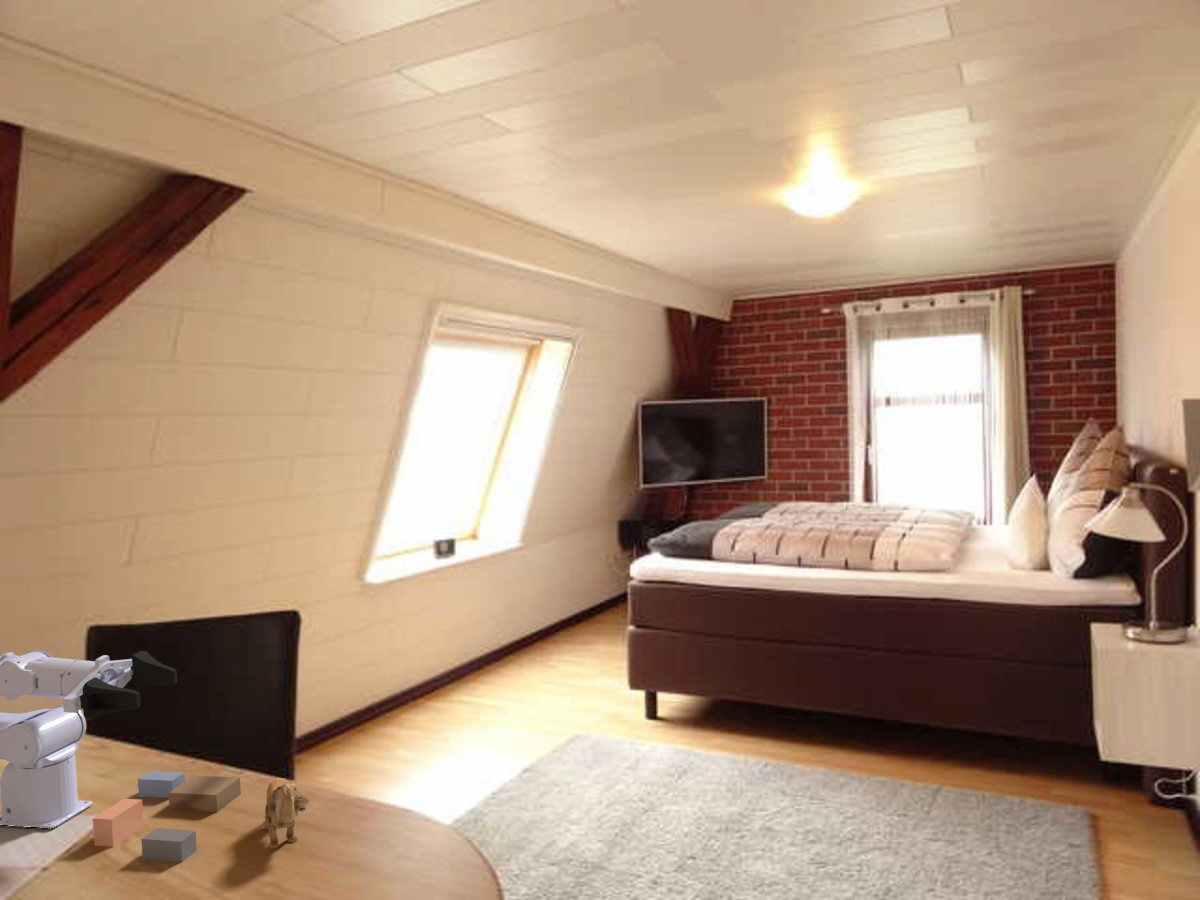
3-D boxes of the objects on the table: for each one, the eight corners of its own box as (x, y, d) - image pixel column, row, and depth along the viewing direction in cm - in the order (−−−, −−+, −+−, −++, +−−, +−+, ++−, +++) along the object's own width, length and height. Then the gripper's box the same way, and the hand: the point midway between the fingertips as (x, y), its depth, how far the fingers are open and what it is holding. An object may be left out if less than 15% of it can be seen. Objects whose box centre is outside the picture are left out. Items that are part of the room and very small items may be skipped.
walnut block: (169, 811, 128) (168, 792, 128) (194, 793, 134) (193, 775, 134) (217, 814, 127) (216, 795, 127) (240, 796, 133) (239, 777, 133)
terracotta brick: (94, 846, 118) (92, 818, 118) (125, 825, 124) (123, 798, 124) (113, 847, 118) (111, 819, 117) (143, 826, 124) (142, 799, 123)
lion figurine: (314, 849, 115) (311, 784, 115) (273, 861, 112) (270, 795, 112) (288, 808, 128) (285, 750, 127) (251, 818, 125) (247, 759, 124)
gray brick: (142, 860, 114) (141, 838, 114) (157, 848, 117) (156, 827, 117) (182, 863, 113) (181, 841, 113) (196, 851, 116) (195, 830, 116)
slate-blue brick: (138, 797, 133) (137, 779, 133) (152, 789, 136) (151, 770, 136) (173, 799, 132) (172, 780, 132) (185, 790, 135) (184, 772, 135)
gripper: (32, 675, 117) (117, 684, 115) (110, 635, 131) (188, 642, 129) (38, 722, 119) (122, 732, 116) (115, 677, 133) (192, 685, 130)
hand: (157, 688), depth 122 cm, fingers open, 7 cm apart
